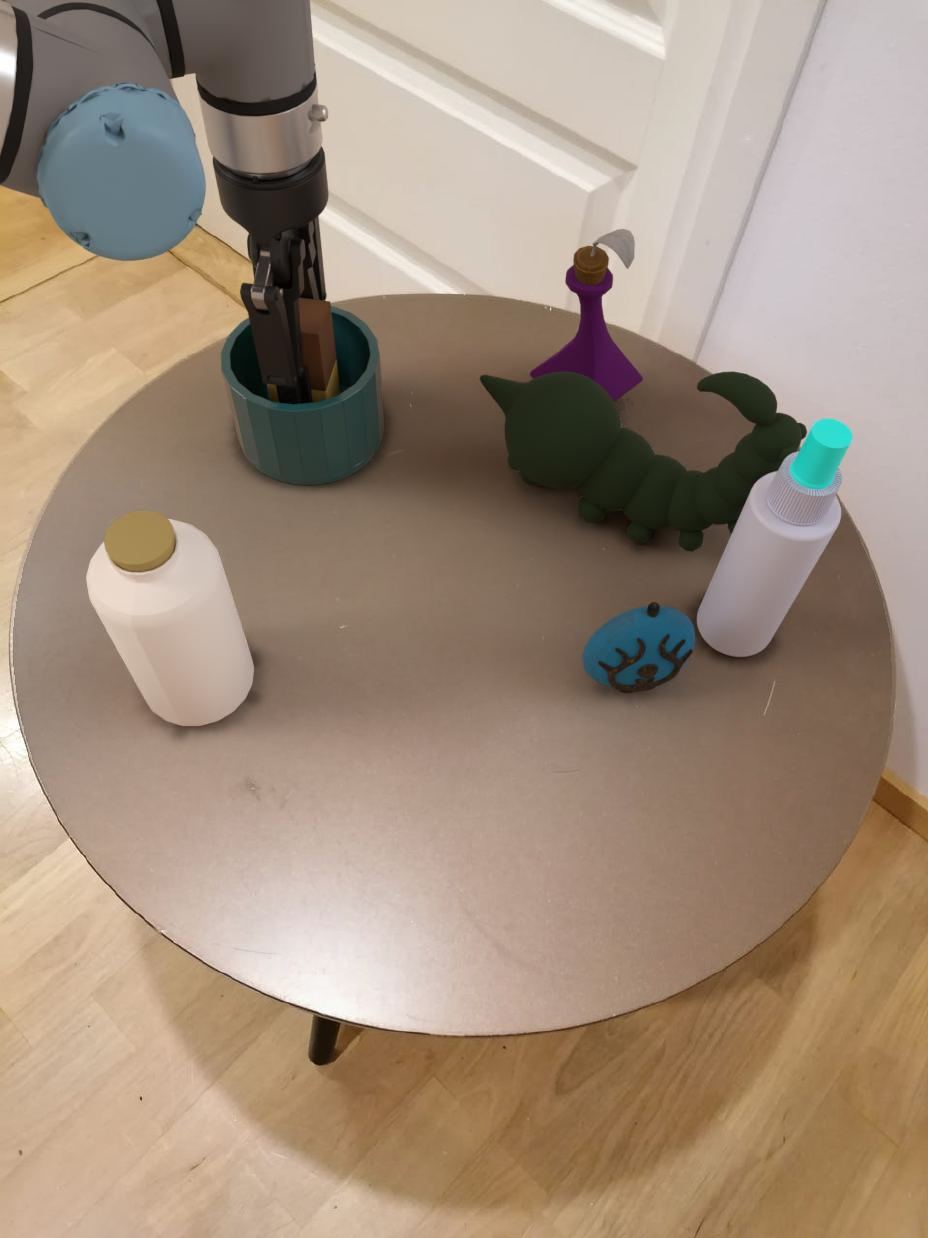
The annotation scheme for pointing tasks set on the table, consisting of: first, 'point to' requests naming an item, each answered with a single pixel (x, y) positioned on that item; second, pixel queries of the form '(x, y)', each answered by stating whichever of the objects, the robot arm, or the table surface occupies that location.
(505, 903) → the table surface
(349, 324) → the teal hollow cylinder
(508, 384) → the toy figurine
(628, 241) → the perfume bottle
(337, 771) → the table surface
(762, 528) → the spray bottle
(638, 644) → the ornament
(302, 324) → the sponge
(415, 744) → the table surface
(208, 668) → the white plastic cylinder
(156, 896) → the table surface
